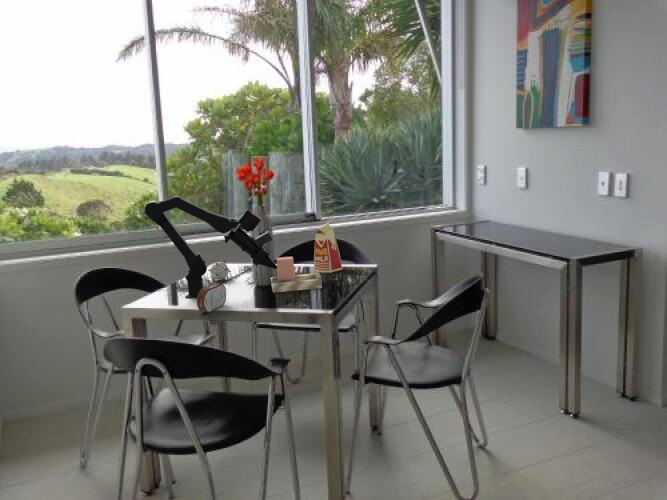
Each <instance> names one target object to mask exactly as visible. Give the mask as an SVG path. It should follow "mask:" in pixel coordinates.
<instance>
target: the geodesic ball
mask: <svg viewBox="0 0 667 500" xmlns="http://www.w3.org/2000/svg"><path fill="white" fill-rule="evenodd" d="M212 261H213V263H212V265H211V266H210V269H207V271H209V273H210V274H211V276H212V278H213V280H212V282H214V281H216V280H224V281H227V279H226V278H227V276H228V274H229V273H231V272H232V270H230V269H229V268H228V265H227V263H226V262H227V259H226V260H224V261H218V262H216V261H215V260H212Z"/></svg>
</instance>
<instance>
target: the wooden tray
mask: <svg viewBox="0 0 667 500" xmlns="http://www.w3.org/2000/svg"><path fill="white" fill-rule="evenodd" d="M294 275H295V281H291V279H290V280H279V281H278V276H273V277H270V283H271V284H270V285H271V289H272V293H273V294H274V293H281V292H282V293H284V292H294V291H303V290H313V289H315V290H316V289H317V290H318V289H322V288H323V286H322V285H323V284H322V282H323V281H322V276H321V275H320V272H318V271H314V273H304V274H294Z"/></svg>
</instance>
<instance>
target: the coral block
mask: <svg viewBox="0 0 667 500" xmlns="http://www.w3.org/2000/svg"><path fill="white" fill-rule="evenodd" d="M276 265H277V268H276V271H277V272H276V273H277V277H278V281H279V280H290V279H291V281H295V275H296V274H295V266H294V265H295V263H294V258H293V256H283V257H282V256H281V257H276Z"/></svg>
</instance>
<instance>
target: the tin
mask: <svg viewBox="0 0 667 500" xmlns="http://www.w3.org/2000/svg"><path fill="white" fill-rule="evenodd" d="M226 300H227V288H226V286H225V284H223V283H217V282H214V283H212V284H209V285H206V286H204V288H202V289H201V290H200V292H199V294H198V297H196V306H197V310H198V311H199V312H200V313H206V314H207V313H208V314H209V313H212V312H214V311H216V310H217V309H220V308H222V307H223V306H224V305H225V303H226Z"/></svg>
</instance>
